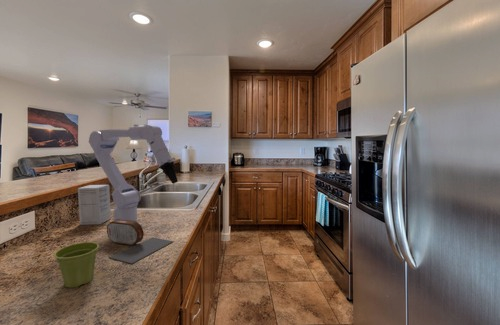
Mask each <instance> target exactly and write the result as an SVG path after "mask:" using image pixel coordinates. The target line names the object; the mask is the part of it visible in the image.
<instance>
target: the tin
mask: <svg viewBox="0 0 500 325" xmlns="http://www.w3.org/2000/svg"><path fill="white" fill-rule="evenodd" d="M139 223H140V222H138V221H137V222H136V221H131V220H122V219H116V220H114V219H113V220H112V221H110V222H109V223H107V226H106V234H107V237H108V238H109V240H110V241H111V242H112V243H115V244H121V245H128V246H135V245H137V244H139V243H141V242H143V239H144V235H145V234H144V233H145V232H144V229H143V226H142V225H140V224H139Z"/></svg>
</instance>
